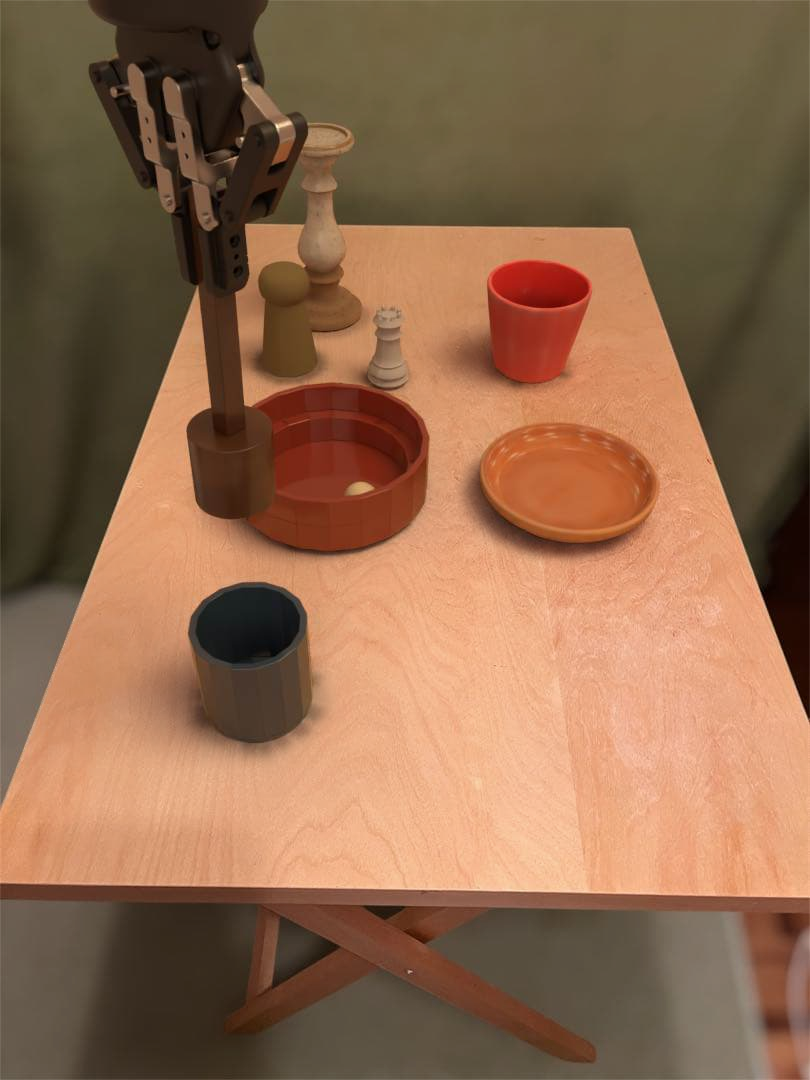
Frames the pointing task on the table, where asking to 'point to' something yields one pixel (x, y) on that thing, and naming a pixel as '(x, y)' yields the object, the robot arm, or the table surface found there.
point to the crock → (252, 660)
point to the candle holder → (325, 231)
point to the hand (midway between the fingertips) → (215, 284)
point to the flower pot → (535, 317)
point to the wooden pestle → (227, 415)
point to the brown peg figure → (286, 320)
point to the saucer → (568, 481)
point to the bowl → (343, 466)
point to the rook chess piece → (388, 351)
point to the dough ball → (358, 488)
